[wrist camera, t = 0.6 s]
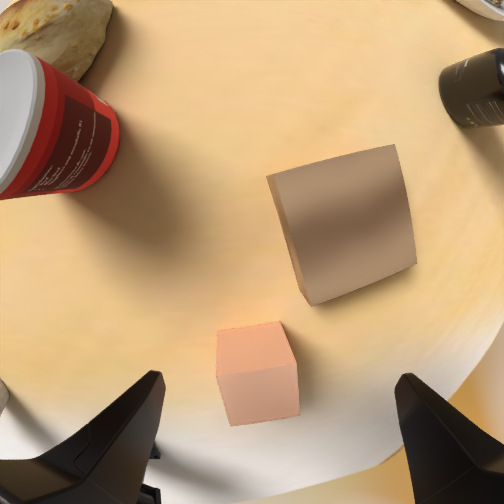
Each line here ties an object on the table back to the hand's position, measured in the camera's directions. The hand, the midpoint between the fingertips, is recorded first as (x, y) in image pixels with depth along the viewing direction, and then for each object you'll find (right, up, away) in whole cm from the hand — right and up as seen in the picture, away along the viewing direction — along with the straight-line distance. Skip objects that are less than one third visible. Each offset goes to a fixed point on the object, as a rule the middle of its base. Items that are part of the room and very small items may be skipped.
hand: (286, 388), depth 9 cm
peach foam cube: (-1, -3, +13) cm, 14 cm away
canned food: (-15, +13, +8) cm, 21 cm away
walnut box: (+5, +7, +12) cm, 15 cm away
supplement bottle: (+20, +20, +10) cm, 30 cm away
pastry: (-19, +22, +6) cm, 30 cm away
